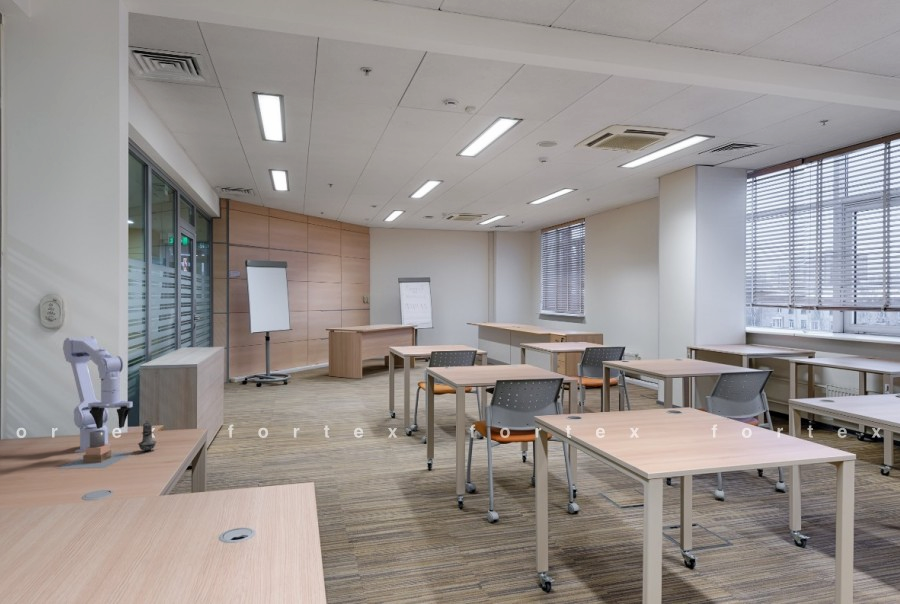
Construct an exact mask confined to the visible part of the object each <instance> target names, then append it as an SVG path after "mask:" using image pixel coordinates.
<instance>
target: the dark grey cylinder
mask: <svg viewBox="0 0 900 604" xmlns="http://www.w3.org/2000/svg"><path fill="white" fill-rule="evenodd" d="M104 445H105V431H104V430H98V431H92V432H90V448H96V447H102V446H104Z"/></svg>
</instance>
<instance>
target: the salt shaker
mask: <svg viewBox="0 0 900 604" xmlns="http://www.w3.org/2000/svg"><path fill="white" fill-rule="evenodd" d="M152 426H153V424H152V423H151V422H149V420H148V419H147V420H146V421H145V422H144V423H143V425H142V432H141V434H142V440H141V442H139V443H137V444H138V447H139V449H140V450H141V451H140V454H148V453H153V452H155V449H154V448H155V446H156V443H157V441H156V440H154V439H153V433H154V432H153V428H152Z"/></svg>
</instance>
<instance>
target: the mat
mask: <svg viewBox="0 0 900 604" xmlns="http://www.w3.org/2000/svg"><path fill="white" fill-rule="evenodd" d="M133 454H135V452H133V451H130V452H129V451H128V452H126V451H124V452H123V451H122V452H111V458H109V459H107V460H105V461H103V462H99V463H83V456H80V457H79V458H76V459H74V460H72V461H70V462H67V463H66V464H63V465H61V466H59V467H57V468H55V469H56V470H57V469H58V470H61V469H62V470H63V469H65V470H66V469H67V470H69V469H102V468H103V469H106V468H108V467H111V466H112V465H113V464H115V463H117V462H120V461H121V460H123V459H125V458H127V457H128V456H131V455H133Z"/></svg>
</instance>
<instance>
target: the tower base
mask: <svg viewBox="0 0 900 604" xmlns="http://www.w3.org/2000/svg"><path fill="white" fill-rule="evenodd" d="M111 453H112V450H110V449H109V451H108V452H106V453H103V454H101V455H86V454H83V455H82V457H83V463H99V462H103V461H105V460H107V459H109V458H111Z"/></svg>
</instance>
